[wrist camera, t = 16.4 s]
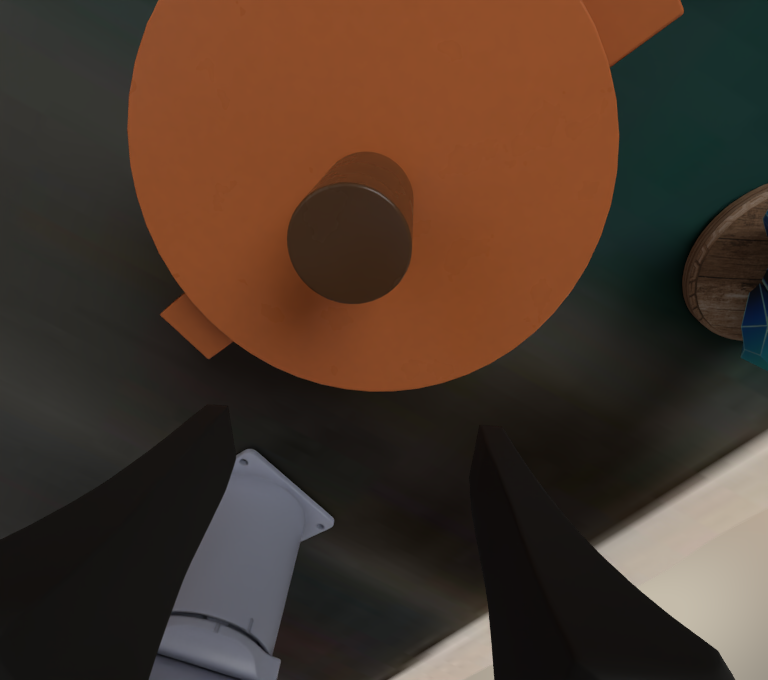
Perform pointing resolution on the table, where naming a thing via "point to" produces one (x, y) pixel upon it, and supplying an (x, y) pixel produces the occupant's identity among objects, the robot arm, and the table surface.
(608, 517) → the table surface
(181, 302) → the pot
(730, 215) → the gemstone
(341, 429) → the table surface
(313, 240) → the lid
